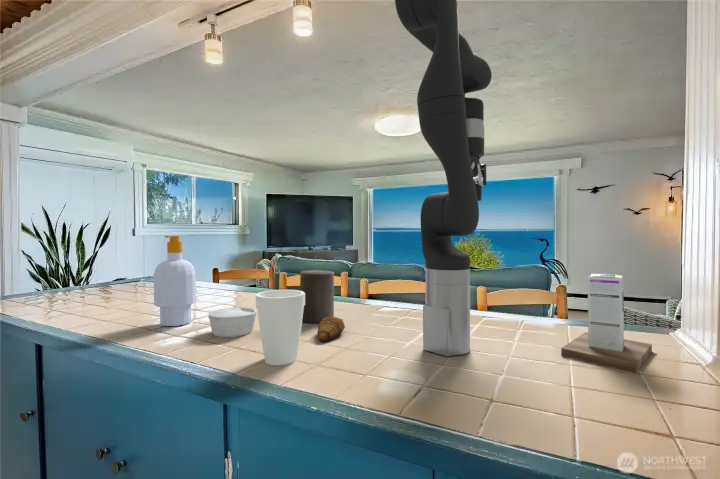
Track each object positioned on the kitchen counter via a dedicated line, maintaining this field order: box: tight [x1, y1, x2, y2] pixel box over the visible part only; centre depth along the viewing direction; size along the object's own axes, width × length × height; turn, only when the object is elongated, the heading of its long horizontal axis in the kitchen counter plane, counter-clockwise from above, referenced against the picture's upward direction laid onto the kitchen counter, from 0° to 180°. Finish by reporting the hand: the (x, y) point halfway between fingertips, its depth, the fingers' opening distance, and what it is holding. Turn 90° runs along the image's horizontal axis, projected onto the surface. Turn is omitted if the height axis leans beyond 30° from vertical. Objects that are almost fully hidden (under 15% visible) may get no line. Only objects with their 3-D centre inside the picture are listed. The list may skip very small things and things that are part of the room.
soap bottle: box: [153, 235, 197, 328], centre depth 97 cm, size 10×10×24 cm
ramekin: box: [207, 307, 257, 338], centre depth 89 cm, size 11×11×5 cm
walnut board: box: [560, 331, 653, 374], centre depth 72 cm, size 16×12×2 cm
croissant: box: [316, 315, 346, 342], centre depth 86 cm, size 14×7×5 cm, turn 167°
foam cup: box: [255, 289, 305, 366], centre depth 69 cm, size 10×9×13 cm
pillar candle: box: [299, 266, 335, 325], centre depth 101 cm, size 10×10×15 cm
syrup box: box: [587, 273, 625, 352], centre depth 72 cm, size 6×6×14 cm
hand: (469, 199), depth 95 cm, fingers open, 8 cm apart
